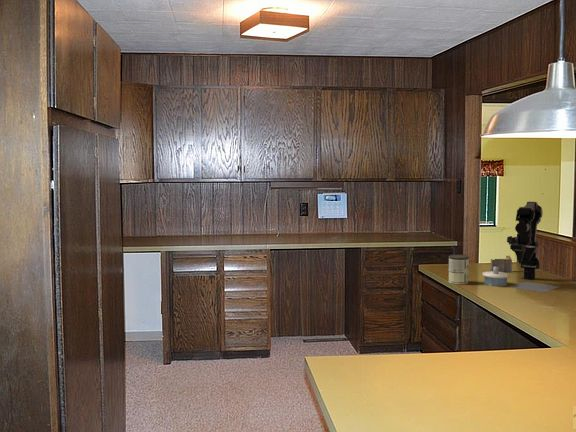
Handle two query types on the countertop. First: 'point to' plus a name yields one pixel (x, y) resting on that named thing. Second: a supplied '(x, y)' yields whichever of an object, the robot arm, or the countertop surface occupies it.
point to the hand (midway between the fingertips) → (524, 261)
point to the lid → (495, 273)
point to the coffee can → (458, 269)
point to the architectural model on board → (502, 264)
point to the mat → (534, 287)
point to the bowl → (495, 281)
